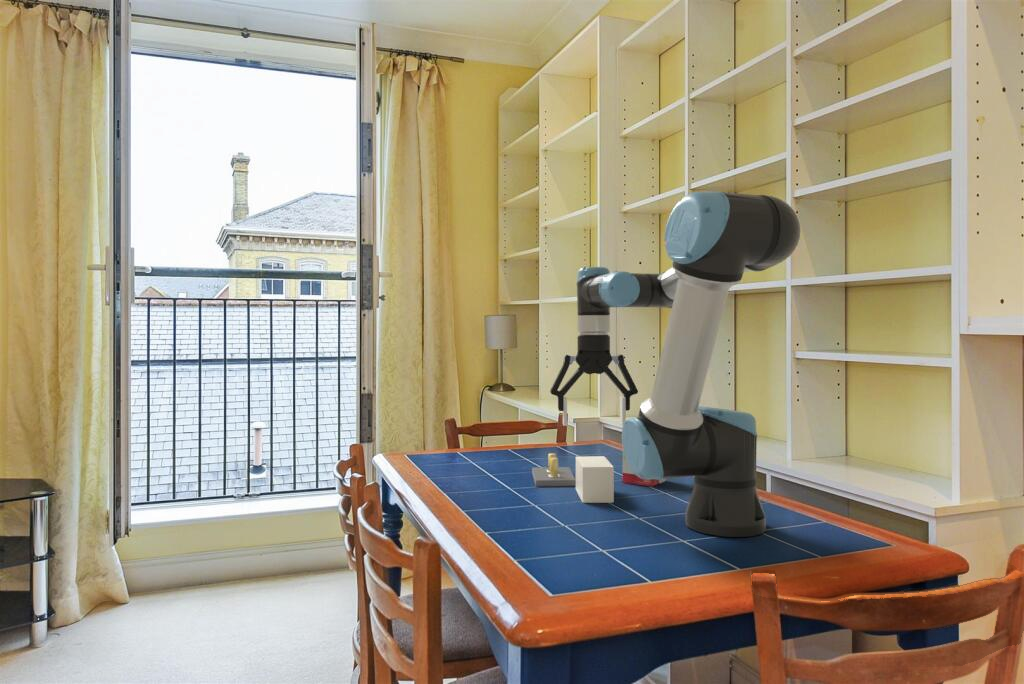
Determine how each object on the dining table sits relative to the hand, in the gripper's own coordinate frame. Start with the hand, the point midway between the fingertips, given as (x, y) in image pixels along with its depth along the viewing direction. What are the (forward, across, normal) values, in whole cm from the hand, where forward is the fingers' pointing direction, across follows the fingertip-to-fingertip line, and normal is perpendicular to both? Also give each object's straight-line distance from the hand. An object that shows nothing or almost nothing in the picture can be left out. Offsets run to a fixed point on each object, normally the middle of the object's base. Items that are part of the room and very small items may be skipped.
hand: (593, 425), depth 159 cm
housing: (+16, 0, 0) cm, 17 cm away
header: (+16, +8, -18) cm, 26 cm away
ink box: (+17, -15, -14) cm, 26 cm away
